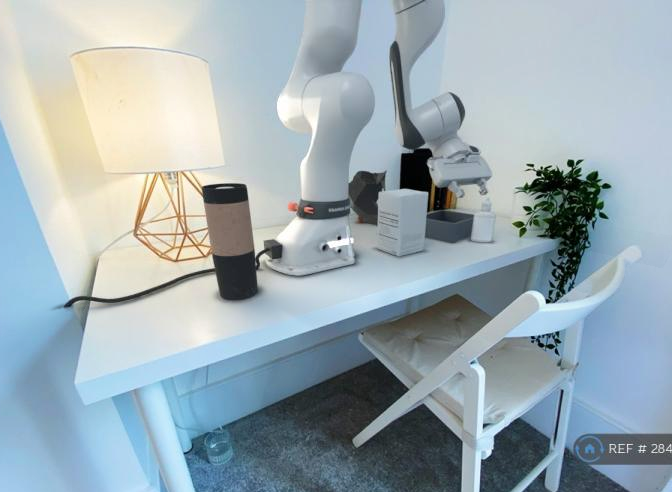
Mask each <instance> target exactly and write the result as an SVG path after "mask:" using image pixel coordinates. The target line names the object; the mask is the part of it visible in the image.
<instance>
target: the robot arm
mask: <svg viewBox="0 0 672 492" xmlns="http://www.w3.org/2000/svg"><path fill="white" fill-rule="evenodd" d="M391 6H392V11H393V14H394V17H395V18H394V19H395V35H394V40H393V42H392V43H391V45H390V47H389V55H388V57H389V72H390V82H391V88H392V97H393V98H392V99H393V107H394V119H395V120H394V121H395V135H396V139H397V141H398V143H399V144H400V146H401V147H402V148H405V149H407V150H411V151H416V150H418V149H419V148H421V147H423V146H424V145H426V147H427V148H428V149H429V150H430V151H431V153H432V156H431V157H429V158H428V159H427V160H426V165H427V166H428V170H429V174H430V177H431V179H432V182H433V184H434V185H435V187H437V188H448V190H449V191H450V192H452V193H453V194H454V195H455V197H456V198H457V199H462V198H464V197H465V195H466V193H465V191H464V189H463V188H460V187H461V186H471V185H472V186H473V185H476V186H477V187H479V190H478V193H479V195H480V196H486V195H487V194H488V193H489V189H488V188H487V182H488V181H489V180H490V179H491V178H492V177H493V171H492V169H491V167H490V166H489V164H488V162H487V161H486V159H485V158H484V157H483V156H482V155H481V153H482V151H481V149H480V148H479V147H477V146H474V145H471V144H468V143H466V142H464V141H463V140H462V138H461V137H460V136H459V135H458V131H459V130H460V129H461V127H462V125H463V122H464V120H465V117H466V108H465V106H464V103H463V102H462V100H461V98H460V97H459V96H458V95H456V93H453V92H450V91H447V92H444V93H442V94H439V95H438V96H435V97H434V98H431V99H430V100H428V101H427V102H424V103H422V104H420V105H419V106H417V107H415V108H413V104H412V94H411V92H412V91H411V84H410V82H411V81H410V77H411V76H410V75H411V71H412V70H413V67H414V65H415V64H416V62H417V61H418V59H419V58H420V57H421V56H422V55H423V54H424V53H425V51H426V50H428V49H429V47H430V46H431V45H432V44H433V43H434V41H436V39H437V37H438V36H439V34H440V32H441V30H442V28H443V25H444V23H445V19H446V8H445V7H446V6H445V0H391ZM362 7H363V0H305V6H304V18H303V25H302V34H301V40H300V44H299V48H298V52H297V55H296V58H295V61H294V64H293V67H292V71H291V73H290V76H289V79H288V80H287V83H286V85H285V86H284V88H283V89H282V91H281V92H280V94H279V95H278V99H277V102H276V103H277V104H276V105H277V106H276V107H277V109H276V110H277V115H278V117H279V120H280V121H281V123H282V124H283V126H284V127H285V128H286V129H288V130H289V131H292V132H294V133H297V134H301V135H311V141H310V146H309V149H308V151H307V154H306V156H305V157H304V158H303V159H302V161H301V162H300V166H299V175H300V190H301V191H300V192H301V198H300V199H299V202H298V203H296V202H293V201H290V202H288V203H287V206H286V207H287V210H288V211H289V212H294V213H295V214H296V217H294V218H293V219H292V220H291V221H290V222H289V224H288V225H287V226H286V227H284V229H283V230H282V231H281V232H280V233H279V234H278V235H277V237H276V239H274V238H273V239H265V240H263V249H262V250H260V251H259V252H258V253H256V254H255V261H256V271H257V270H258V269H260V267H261V262H260V257H261V256H263V255H264V254H265V255H266V256H267V257H266V258H265V264H266V266H268V268H270V269H272V270H274V271H276V272H279V273H282V274H284V275H290V276H297V277H298V276H299V277H302V276H306V275H311V274H316V273H319V272H324V271H328V270H329V271H330V270H333V269H337V268H342V267H346V266H350V265H354V264H355V263H356V261H355V256H356V253H355V250H354V247H353V243H354V238H353V237H352V233H351V225H350V214H351V208H350V207H351V206H350V198H349V197H348V184H349V183H350V182H349V179H350V164H351V158H352V154H353V150H354V148H355V145H356V142H357V140H358V138H359V136H360V134H361V132H362V131H363V130H364V128H365V127H366V126H367V125H368V124H369V123H370V121H371V120H372V117H373V115H374V112H375V106H376V97H375V91H374V89H373V85H372V84H371V82H370V80H369V79H368V78H367V77H366V76H364V75H363V74H361V73H357V72H351V71H350V72H349V71H342V70H343V68H344V66H345V64H346V63H347V61H348V60H349V59H350V58H351V56H352V55H353V53H355V50H356V47H357V44H358V37H359V31H360V30H359V28H360V22H361V15H362ZM459 186H460V187H459ZM209 273H216V272H215V267H212V268H206V269H202V270H197V271H194V272H189V273H186V274H184V275H180V276H178V277H176V278H174V279H172V280H170V281H167V282H164V283H162V284H159V285H156V286H153V287H151V288H147V289H146V290H142V291H139V292H136V293H133V294H129V295H125V296H121V297H114V298H105V297H104V298H103V297H97V296H96V297H95V296H89V295H78V296H75V297H73V298H71V299H69V300H68V301H67V302H66V303H65V304H64V306H63V308H70V307H71V306H72V305H73V304H75V303H77V302H80V301H87V302H95V303H102V304H116V303H122V302H126V301H131V300H134V299H137V298H140V297H143V296H147V295H148V294H151V293H154V292H156V291H160V290H162V289H166V288H167V287H170V286H172V285H174V284H176V283H178V282H181V281H183V280H186V279H189V278H193V277H196V276H199V275H204V274H209Z"/></svg>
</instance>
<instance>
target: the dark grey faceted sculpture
mask: <svg viewBox="0 0 672 492" xmlns="http://www.w3.org/2000/svg"><path fill="white" fill-rule="evenodd" d="M387 172H388V170H387V169H386V170H385V171H382V172H370V171H369V170H368V171H367V170H358V171H356V173H355V174H354V175H353V177H352V180H350V182H349V184H348V197H349V198H350V206H351V207H350V209H351V210H352V212H354V213H355V214H356V216H357V218H356V223H358V224H363V223H364V224H371V225H375V226H378V198H379V192H383V191H387V190H386V176H387V175H386V174H387Z"/></svg>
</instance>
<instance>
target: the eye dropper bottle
mask: <svg viewBox="0 0 672 492" xmlns="http://www.w3.org/2000/svg"><path fill="white" fill-rule="evenodd" d="M492 205H493V203H492V202H490V197H486V198H485V200H484V201H482V202H481V206H480V207H481V208H480V210H479V211H478V210H477V211H475V213H474V214H473V215H474V218H473V225H472V231H471V236H470V241H472V242H476V243H491V242H492V241H493V235H494V230H495V225H496V218H497V216H496V213H495V212H493V211H491V210H492Z"/></svg>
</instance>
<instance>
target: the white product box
mask: <svg viewBox="0 0 672 492" xmlns="http://www.w3.org/2000/svg"><path fill="white" fill-rule="evenodd" d="M428 202H429V192H428V191H423V190H422V191H420V190H416V189H415V190H414V189H410V188H401V189H400V188H399V189H391V190H386V191H384V190H382V192H379V198H378V200H377V205H378V225H377V231H376V237H377V238H376V249H378V250H380V251H382V252H385V253H388V254H390V255H393V256H395V257H399V258H400V257H403V256H407V255H411V254H414V253H415V254H416V253H419V252H422V251H425V240H426V237H425V228H426V216H427V214H428V205H429V204H428Z"/></svg>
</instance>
